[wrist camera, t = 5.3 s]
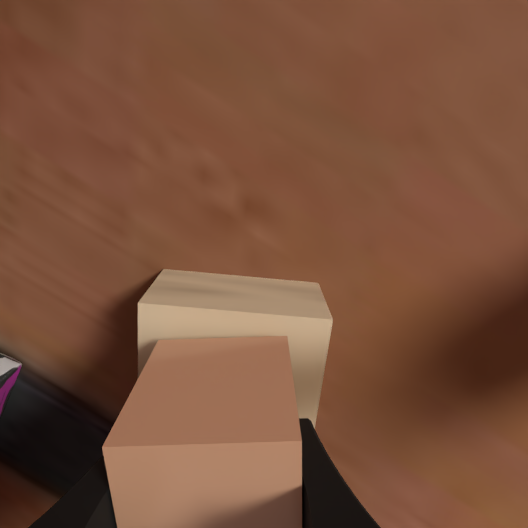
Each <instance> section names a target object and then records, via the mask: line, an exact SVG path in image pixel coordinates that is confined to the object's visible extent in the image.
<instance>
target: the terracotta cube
mask: <svg viewBox="0 0 528 528" xmlns="http://www.w3.org/2000/svg"><path fill="white" fill-rule="evenodd" d="M102 450H103V455H104V461H105V466H106V471H107V476H108V482H109V487H110V492H111V497H112V503H113V508H114V513H115V519H116V524H117V528H302V438H301V431H300V424H299V416H298V409H297V402H296V395H295V388H294V381H293V373H292V366H291V359H290V352H289V345H288V338H287V336H267V337H236V338H204V339H172V340H158V342H157V344H156V346H155V347H154V349H153V351H152V353H151V355H150V357H149V359H148V361H147V363H146V365H145V366H144V368H143V370H142V372H141V374H140V376H139V378H138V380H137V382H136V384H135V385H134V387H133V389H132V391H131V393H130V395H129V397H128V399H127V401H126V403H125V404H124V406H123V408H122V410H121V412H120V414H119V416H118V418H117V420H116V422H115V423H114V425H113V427H112V429H111V431H110V433H109V435H108V437H107V439H106V441H105V442H104V444H103V446H102Z"/></svg>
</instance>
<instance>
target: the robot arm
mask: <svg viewBox="0 0 528 528" xmlns="http://www.w3.org/2000/svg"><path fill="white" fill-rule="evenodd" d="M299 424H300V431H301V438H302V528H380V526H379V525H378V524H377V523H376V522H375V521H374V519H373V518H372V517H371V516H370V514H369V513H368V512H367V511H366V510H365V508H364V507H363V506H362V504H361V503H360V502H359V500H358V499H357V498H356V496H355V495H354V494H353V492H352V491H351V489H350V488H349V487H348V485H347V484H346V482H345V481H344V479H343V478H342V476H341V475H340V473H339V472H338V470H337V469H336V467H335V465H334V464H333V462H332V461H331V459H330V457H329V456H328V454H327V452H326V450H325V449H324V447H323V445H322V443H321V441H320V439H319V437H318V435H317V433H316V431H315V429H314V427H313V424H312V421H311V420H309V419H308V418H299ZM28 528H117V524H116V519H115V513H114V508H113V503H112V497H111V492H110V487H109V482H108V476H107V471H106V466H105V461H104V455H103V456H102V457H101V458H100V459H99V460H98V461H97V462H96V464H95V465H94V466H93V467H92V468H91V469H90V470H89V471H88V472H87V473H86V474H85V475H84V476H83V477H82V478H81V479H80V480H79V481H78V482H77V483H76V484H75V485H74V486H73V487H72V488H71V489H70V490H69V491H68V492H67V493H66V494H65V495H64V496H63V497H62V498H61V499H60V500H59V501H58V502H57V503H56V504H54V505H53V506H52V507H51V508H50V509H49V510H48V511H47V512H46V513H45V514H43V515H42V516H41V517H40V518H39V519H38V520H36V521H35V522H34V523H33V524H32V525H30V526H29V527H28Z"/></svg>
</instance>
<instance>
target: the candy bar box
mask: <svg viewBox="0 0 528 528" xmlns="http://www.w3.org/2000/svg"><path fill="white" fill-rule="evenodd" d="M21 366H22V363H21V362H19V361H17V360H15V359H13V358H11V357H9V356H7V355H4V354H2V353H0V418H1V416H2V413H3V410H4V408H5V405H6V403H7V401H8V398H9V396H10V393H11V391H12V388H13V386H14V384H15V381H16V379H17V376H18V374H19V371H20V369H21Z"/></svg>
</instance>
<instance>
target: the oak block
mask: <svg viewBox="0 0 528 528" xmlns="http://www.w3.org/2000/svg"><path fill="white" fill-rule="evenodd" d="M332 322H333V319H332V316H331V314H330V311H329V309H328V306H327V304H326V301H325V299H324V296H323V294H322V291H321V289H320V286H319V284H318V283H314V282H302V281H291V280H280V279H269V278H258V277H247V276H236V275H224V274H213V273H202V272H191V271H180V270H169V269H163V270H162V272H161V273H160V274H159V275H158V277H157V278H156V279H155V281H154V282H153V283H152V285H151V286H150V287H149V289H148V290H147V291H146V293H145V294H144V295H143V297H142V298H141V299H140V301H139V302H138V378H139V376H140V374H141V372H142V370H143V368H144V366H145V365H146V363H147V361H148V359H149V357H150V355H151V353H152V351H153V349H154V347H155V346H156V344H157V342H158V340H172V339H204V338H236V337H267V336H287V338H288V345H289V352H290V359H291V366H292V373H293V381H294V388H295V395H296V402H297V409H298V416H299V418H308V419H309V420H311V421H312V424H313V427H314V429H315V423H316V417H317V411H318V405H319V399H320V393H321V387H322V382H323V376H324V370H325V364H326V358H327V352H328V346H329V340H330V334H331V328H332Z"/></svg>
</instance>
